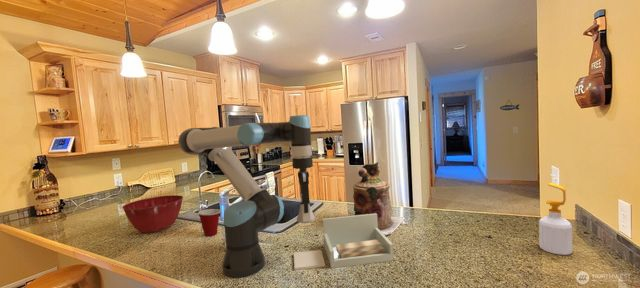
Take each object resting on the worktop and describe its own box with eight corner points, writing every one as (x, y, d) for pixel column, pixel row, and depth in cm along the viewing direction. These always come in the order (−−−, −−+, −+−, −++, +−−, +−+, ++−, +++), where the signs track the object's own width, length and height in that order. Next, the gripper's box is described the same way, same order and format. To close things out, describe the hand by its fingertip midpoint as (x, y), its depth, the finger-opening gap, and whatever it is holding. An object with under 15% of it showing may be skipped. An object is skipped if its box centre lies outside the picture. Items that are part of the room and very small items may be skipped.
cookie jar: (362, 214, 151) (359, 158, 149) (406, 221, 137) (403, 159, 135) (339, 229, 131) (335, 164, 129) (387, 239, 117) (384, 166, 115)
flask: (317, 217, 104) (316, 191, 104) (313, 223, 97) (311, 196, 96) (299, 217, 106) (297, 191, 105) (294, 223, 99) (292, 196, 98)
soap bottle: (541, 242, 105) (540, 180, 104) (572, 248, 99) (572, 182, 97) (537, 250, 99) (536, 184, 98) (571, 258, 93) (570, 187, 91)
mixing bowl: (122, 229, 151) (119, 202, 150) (178, 216, 169) (176, 192, 168) (128, 244, 129) (124, 212, 128) (191, 227, 148) (189, 199, 147)
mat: (294, 270, 96) (294, 268, 96) (293, 254, 107) (293, 252, 107) (325, 266, 97) (325, 264, 97) (321, 251, 109) (320, 249, 109)
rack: (331, 268, 96) (329, 235, 95) (324, 246, 113) (322, 218, 112) (393, 260, 98) (392, 228, 98) (377, 240, 116) (376, 213, 115)
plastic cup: (225, 234, 134) (223, 210, 134) (202, 240, 128) (200, 215, 127) (219, 228, 143) (217, 206, 142) (197, 234, 136) (195, 211, 136)
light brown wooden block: (339, 265, 97) (338, 249, 97) (337, 260, 101) (336, 245, 101) (383, 259, 100) (383, 243, 100) (379, 254, 104) (378, 239, 104)
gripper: (314, 159, 91) (318, 225, 92) (309, 154, 110) (313, 209, 111) (292, 160, 90) (297, 228, 91) (291, 155, 109) (295, 211, 110)
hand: (306, 217), depth 101 cm, fingers closed on flask, 6 cm apart
